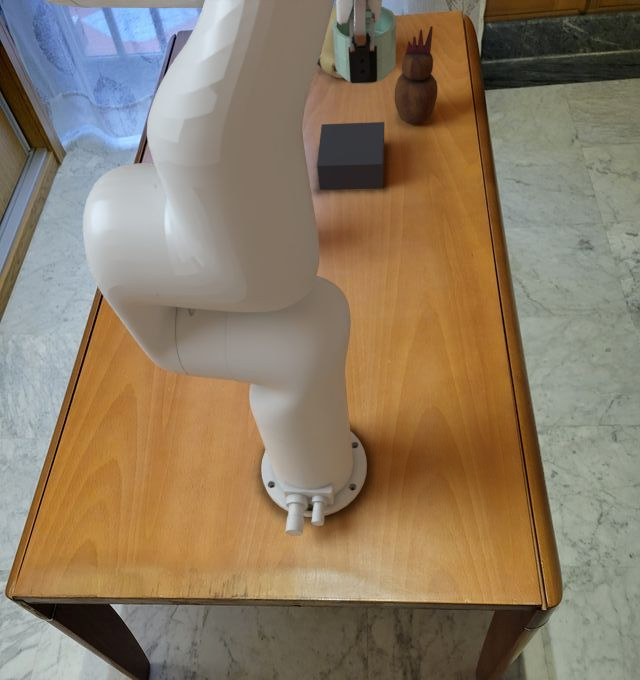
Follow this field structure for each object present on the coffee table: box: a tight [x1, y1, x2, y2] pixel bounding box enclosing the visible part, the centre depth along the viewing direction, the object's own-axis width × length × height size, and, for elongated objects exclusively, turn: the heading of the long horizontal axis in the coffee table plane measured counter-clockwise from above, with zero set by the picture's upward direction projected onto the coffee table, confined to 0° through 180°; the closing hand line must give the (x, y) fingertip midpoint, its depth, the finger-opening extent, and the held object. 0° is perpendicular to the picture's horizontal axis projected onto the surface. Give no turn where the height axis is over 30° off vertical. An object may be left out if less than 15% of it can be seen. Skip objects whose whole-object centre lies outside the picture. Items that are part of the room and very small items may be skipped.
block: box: [316, 121, 385, 191], centre depth 100 cm, size 10×10×4 cm
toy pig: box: [317, 4, 344, 79], centre depth 112 cm, size 10×12×11 cm
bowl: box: [333, 6, 397, 85], centre depth 76 cm, size 7×7×6 cm
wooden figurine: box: [394, 26, 439, 126], centre depth 101 cm, size 7×6×15 cm
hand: (365, 60), depth 77 cm, fingers closed on bowl, 7 cm apart
